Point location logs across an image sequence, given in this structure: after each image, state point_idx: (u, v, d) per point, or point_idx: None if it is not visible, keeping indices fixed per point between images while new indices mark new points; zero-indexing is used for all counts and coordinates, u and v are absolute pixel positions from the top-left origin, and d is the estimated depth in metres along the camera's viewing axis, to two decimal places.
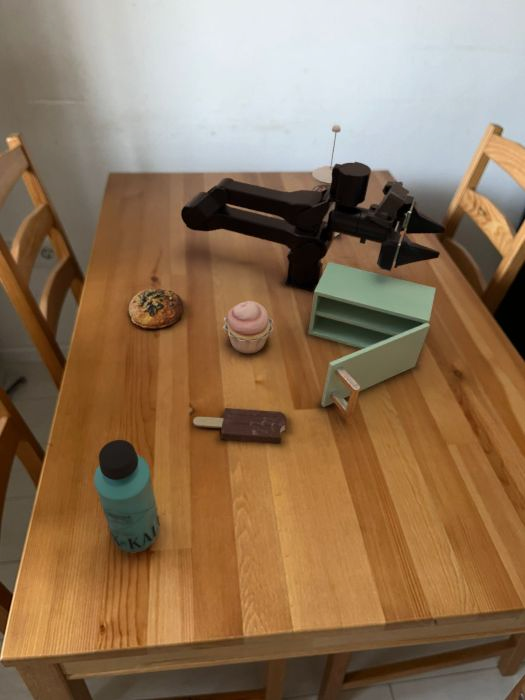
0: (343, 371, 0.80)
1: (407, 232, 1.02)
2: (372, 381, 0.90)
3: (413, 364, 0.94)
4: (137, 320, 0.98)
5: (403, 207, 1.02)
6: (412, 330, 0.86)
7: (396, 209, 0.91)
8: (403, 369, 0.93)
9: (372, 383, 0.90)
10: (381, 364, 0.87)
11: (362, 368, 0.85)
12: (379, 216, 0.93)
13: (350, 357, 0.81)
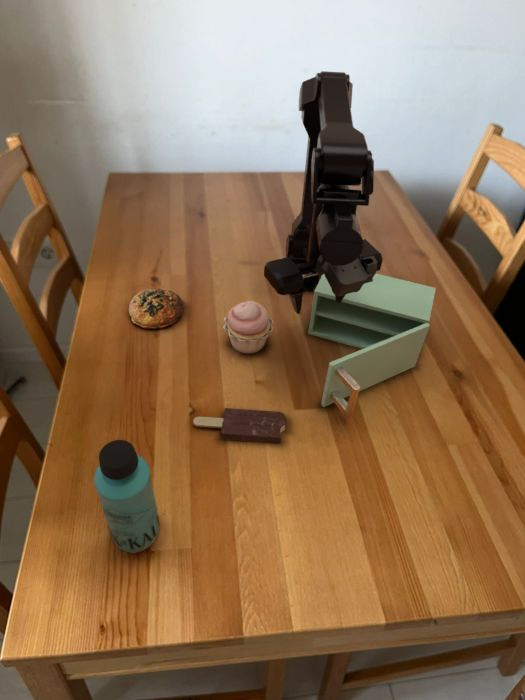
0: (343, 371, 0.80)
1: None
2: (372, 381, 0.90)
3: (413, 364, 0.94)
4: (137, 320, 0.98)
5: None
6: (412, 330, 0.86)
7: (330, 283, 0.76)
8: (403, 369, 0.93)
9: (372, 383, 0.90)
10: (381, 364, 0.87)
11: (362, 368, 0.85)
12: (325, 261, 0.76)
13: (350, 357, 0.81)
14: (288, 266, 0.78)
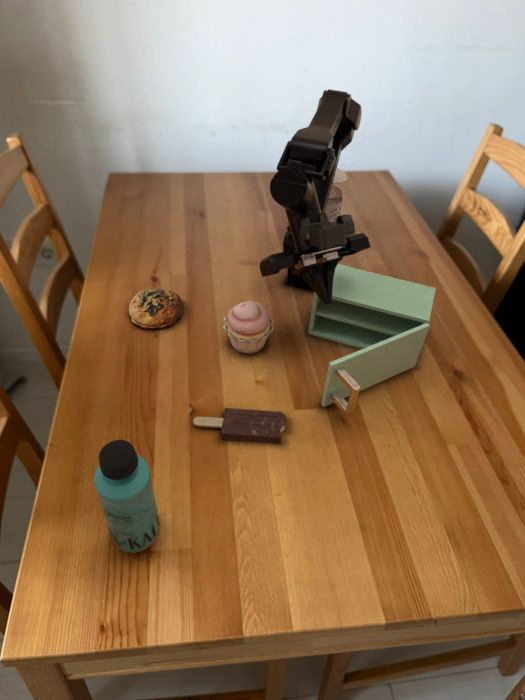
0: (343, 371, 0.80)
1: None
2: (372, 381, 0.90)
3: (413, 364, 0.94)
4: (137, 320, 0.98)
5: None
6: (412, 330, 0.86)
7: (315, 245, 0.80)
8: (403, 369, 0.93)
9: (372, 383, 0.90)
10: (381, 364, 0.87)
11: (362, 368, 0.85)
12: (305, 232, 0.82)
13: (350, 357, 0.81)
14: None
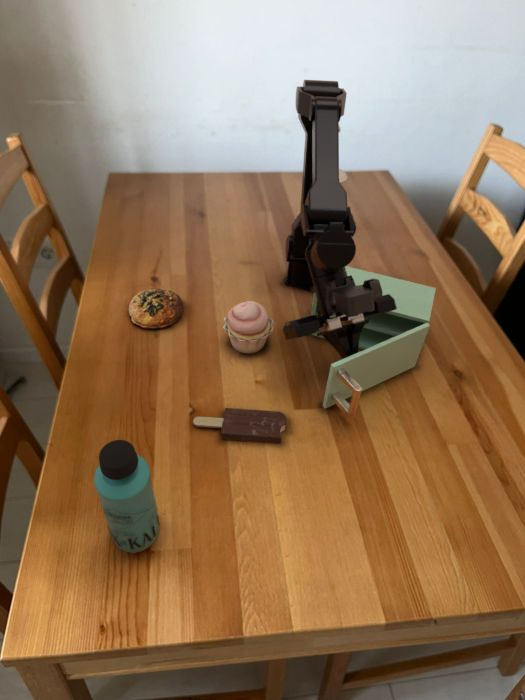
0: (345, 372, 0.80)
1: None
2: (373, 382, 0.90)
3: (413, 364, 0.94)
4: (137, 320, 0.98)
5: None
6: (412, 330, 0.86)
7: (342, 311, 0.78)
8: (403, 369, 0.93)
9: (373, 384, 0.90)
10: (382, 365, 0.87)
11: (363, 369, 0.85)
12: (331, 296, 0.80)
13: (351, 358, 0.81)
14: None
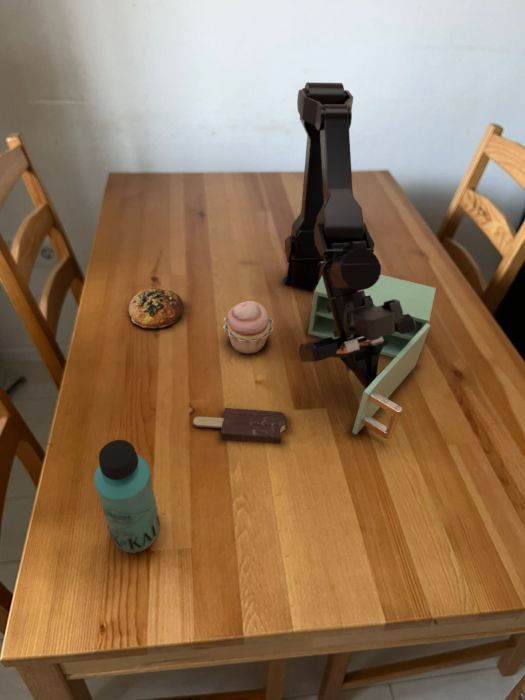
0: (378, 396, 0.77)
1: None
2: (389, 393, 0.88)
3: (414, 364, 0.94)
4: (137, 320, 0.98)
5: None
6: (418, 334, 0.86)
7: (361, 334, 0.75)
8: (408, 372, 0.93)
9: (388, 395, 0.89)
10: (397, 375, 0.86)
11: (385, 385, 0.83)
12: (349, 318, 0.77)
13: (379, 379, 0.78)
14: (319, 339, 0.79)
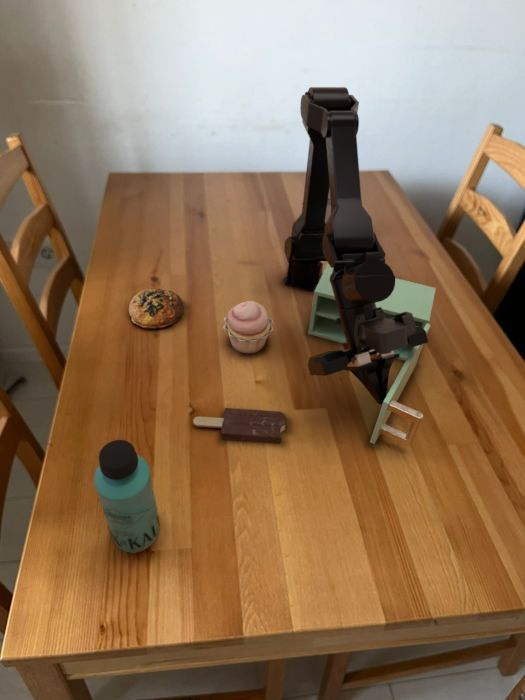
0: (397, 404, 0.76)
1: None
2: (398, 397, 0.87)
3: (415, 364, 0.94)
4: (137, 320, 0.98)
5: None
6: None
7: (372, 347, 0.73)
8: (411, 373, 0.92)
9: (397, 399, 0.88)
10: (405, 379, 0.85)
11: (398, 391, 0.82)
12: (360, 330, 0.75)
13: (396, 387, 0.77)
14: (329, 352, 0.77)
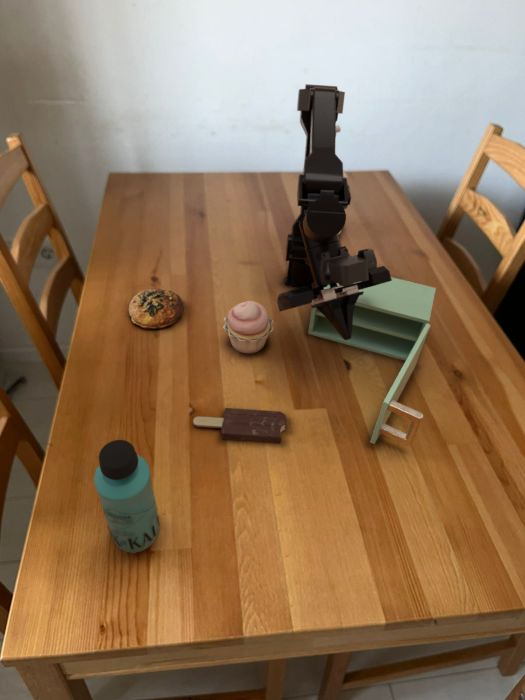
0: (397, 404, 0.76)
1: None
2: (398, 397, 0.87)
3: (415, 364, 0.94)
4: (137, 320, 0.98)
5: None
6: (421, 336, 0.85)
7: (336, 281, 0.78)
8: (411, 373, 0.92)
9: (397, 399, 0.88)
10: (405, 379, 0.85)
11: (398, 391, 0.82)
12: (325, 267, 0.79)
13: (396, 387, 0.77)
14: None
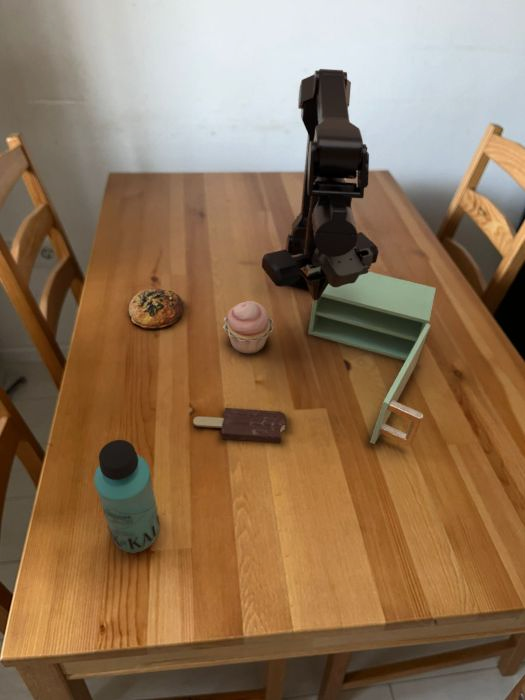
0: (397, 404, 0.76)
1: None
2: (398, 397, 0.87)
3: (415, 364, 0.94)
4: (137, 320, 0.98)
5: None
6: (421, 336, 0.85)
7: (326, 275, 0.78)
8: (411, 373, 0.92)
9: (397, 399, 0.88)
10: (405, 379, 0.85)
11: (398, 391, 0.82)
12: (321, 253, 0.77)
13: (396, 387, 0.77)
14: (285, 258, 0.79)
